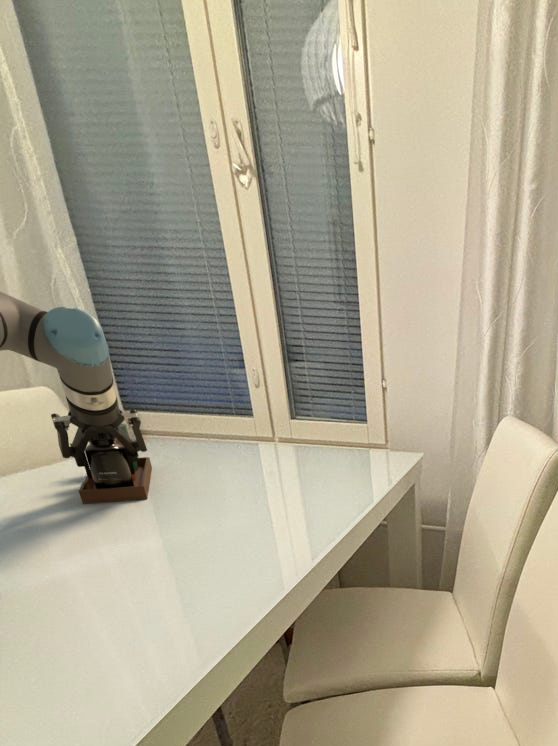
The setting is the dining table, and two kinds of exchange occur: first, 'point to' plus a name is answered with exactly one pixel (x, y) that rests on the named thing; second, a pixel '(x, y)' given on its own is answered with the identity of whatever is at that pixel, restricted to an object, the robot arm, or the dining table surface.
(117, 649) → the dining table surface
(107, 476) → the supplement bottle
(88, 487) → the tray
